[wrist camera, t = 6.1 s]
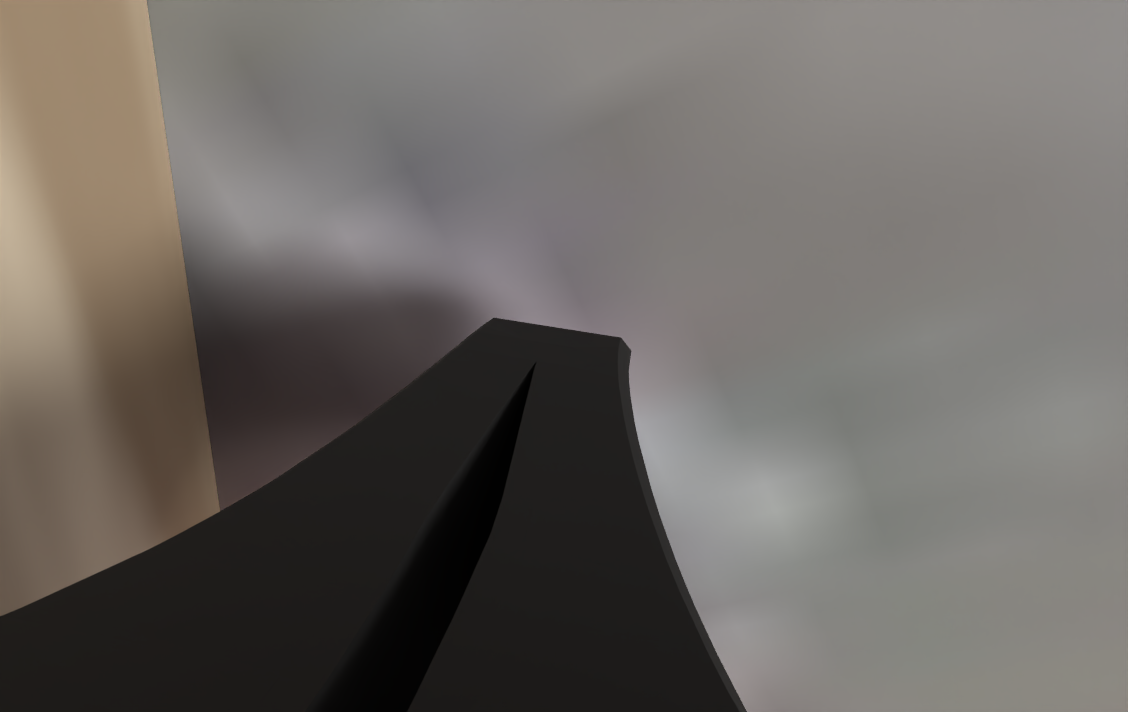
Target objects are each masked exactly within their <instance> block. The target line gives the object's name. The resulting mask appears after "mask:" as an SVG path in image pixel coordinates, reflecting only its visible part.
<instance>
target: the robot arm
mask: <svg viewBox="0 0 1128 712" xmlns="http://www.w3.org/2000/svg"><path fill="white" fill-rule="evenodd" d="M630 356H631V350H630V349H629V347H628V346H627V345H626V343H625V342H624V341H623V340H622V338H619V337H613V336H607V335H600V334H594V333H587V332H581V331H575V330H568V329H562V328H556V327H549V326H543V325H536V324H530V323H524V322H517V321H511V320H505V319H498V318H493V319H491V320H490V321H488V322H487V323H486V324H484V325H483V326H481V327H480V328H479V329H478V330H476V331H475V332H474V333H472V334H471V335H470V336H469V337H467V338H466V339H465V340H464V341H463V342H461V343H460V344H459V345H458V346H456V347H455V348H454V349H453V350H452V351H450V352H449V353H448V354H447V355H445V356H444V357H443V358H442V359H440V360H439V361H438V362H437V363H436V364H434V365H433V366H432V367H431V368H429V369H428V370H427V371H426V372H424V373H423V374H422V375H421V376H419V377H418V378H417V379H416V380H414V381H413V382H412V383H411V384H409V385H408V386H407V387H405V388H404V389H403V390H401V391H400V392H399V393H397V394H396V395H395V396H393V397H392V398H391V399H389V400H388V401H387V402H385V403H384V404H383V405H381V406H380V407H379V408H377V409H376V410H375V411H373V412H372V413H371V414H369V415H368V416H367V417H366V418H364V419H363V420H362V421H360V422H359V423H357V424H356V425H355V426H353V427H352V428H351V429H349V430H348V431H346V432H345V433H344V434H342V435H341V436H339V437H338V438H336V439H335V440H333V441H332V442H330V443H329V444H327V445H326V446H324V447H323V448H321V449H320V450H318V451H317V452H315V453H314V454H312V455H311V456H309V457H308V458H306V459H305V460H303V461H302V462H300V463H299V464H297V465H296V466H294V467H293V468H291V469H290V470H288V471H287V472H285V473H284V474H282V475H281V476H279V477H278V478H276V479H275V480H273V481H272V482H270V483H268V484H267V485H265V486H263V487H262V488H260V489H258V490H257V491H255V492H253V493H252V494H250V495H248V496H246V497H245V498H243V499H241V500H240V501H238V502H236V503H234V504H233V505H231V506H229V507H227V508H226V509H224V510H222V511H220V512H218V513H216V514H214V515H213V516H211V517H209V518H207V519H205V520H203V521H201V522H200V523H198V524H196V525H194V526H192V527H190V528H189V529H187V530H185V531H183V532H181V533H179V534H177V535H176V536H174V537H172V538H170V539H168V540H166V541H164V542H162V543H160V544H158V545H156V546H154V547H152V548H150V549H148V550H146V551H144V552H142V553H140V554H137V555H135V556H133V557H131V558H129V559H126V560H124V561H122V562H120V563H118V564H116V565H113V566H111V567H109V568H107V569H105V570H102V571H100V572H98V573H96V574H94V575H92V576H89V577H87V578H85V579H83V580H81V581H78V582H76V583H74V584H72V585H70V586H68V587H65V588H63V589H61V590H59V591H57V592H54V593H52V594H50V595H48V596H46V597H44V598H41V599H39V600H37V601H35V602H33V603H30V604H28V605H26V606H24V607H21V608H19V609H17V610H14V611H12V612H9V613H7V614H5V615H2V616H0V712H747V711H746V709H745V708H744V706H743V704H742V702H741V700H740V698H739V696H738V694H737V692H736V690H735V688H734V686H733V684H732V682H731V680H730V678H729V676H728V675H727V673H726V671H725V669H724V667H723V665H722V663H721V661H720V659H719V657H718V655H717V653H716V651H715V649H714V647H713V645H712V642H711V640H710V638H709V636H708V634H707V632H706V630H705V627H704V625H703V623H702V621H701V619H700V617H699V614H698V612H697V610H696V608H695V606H694V603H693V601H692V599H691V596H690V594H689V592H688V589H687V587H686V585H685V582H684V580H683V577H682V575H681V572H680V570H679V567H678V565H677V562H676V560H675V557H674V554H673V551H672V549H671V546H670V543H669V540H668V538H667V535H666V532H665V529H664V526H663V524H662V521H661V518H660V515H659V512H658V509H657V506H656V503H655V499H654V496H653V493H652V490H651V486H650V483H649V479H648V475H647V471H646V468H645V464H644V460H643V456H642V453H641V449H640V445H639V441H638V437H637V432H636V427H635V422H634V416H633V410H632V404H631V397H630V388H629V363H630Z"/></svg>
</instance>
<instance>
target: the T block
mask: <svg viewBox="0 0 1128 712" xmlns="http://www.w3.org/2000/svg"><path fill="white" fill-rule="evenodd" d="M218 512H220V506H219V499H218V492H217V485H216V479H215V472H214V465H213V458H212V451H211V444H210V437H209V430H208V423H207V416H206V409H205V402H204V395H203V388H202V381H201V375H200V368H199V361H198V354H197V347H196V340H195V333H194V326H193V319H192V312H191V305H190V298H189V291H188V284H187V277H186V270H185V264H184V257H183V250H182V243H181V236H180V229H179V222H178V215H177V208H176V201H175V194H174V187H173V180H172V173H171V166H170V159H169V153H168V146H167V139H166V132H165V125H164V118H163V111H162V104H161V97H160V90H159V83H158V76H157V69H156V62H155V55H154V48H153V42H152V35H151V28H150V21H149V14H148V7H147V0H0V616H2V615H5V614H7V613H9V612H12V611H14V610H17V609H19V608H21V607H24V606H26V605H28V604H30V603H33V602H35V601H37V600H39V599H41V598H44V597H46V596H48V595H50V594H52V593H54V592H57V591H59V590H61V589H63V588H65V587H68V586H70V585H72V584H74V583H76V582H78V581H81V580H83V579H85V578H87V577H89V576H92V575H94V574H96V573H98V572H100V571H102V570H105V569H107V568H109V567H111V566H113V565H116V564H118V563H120V562H122V561H124V560H126V559H129V558H131V557H133V556H135V555H137V554H140V553H142V552H144V551H146V550H148V549H150V548H152V547H154V546H156V545H158V544H160V543H162V542H164V541H166V540H168V539H170V538H172V537H174V536H176V535H177V534H179V533H181V532H183V531H185V530H187V529H189V528H190V527H192V526H194V525H196V524H198V523H200V522H201V521H203V520H205V519H207V518H209V517H211V516H213V515H214V514H216V513H218Z"/></svg>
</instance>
